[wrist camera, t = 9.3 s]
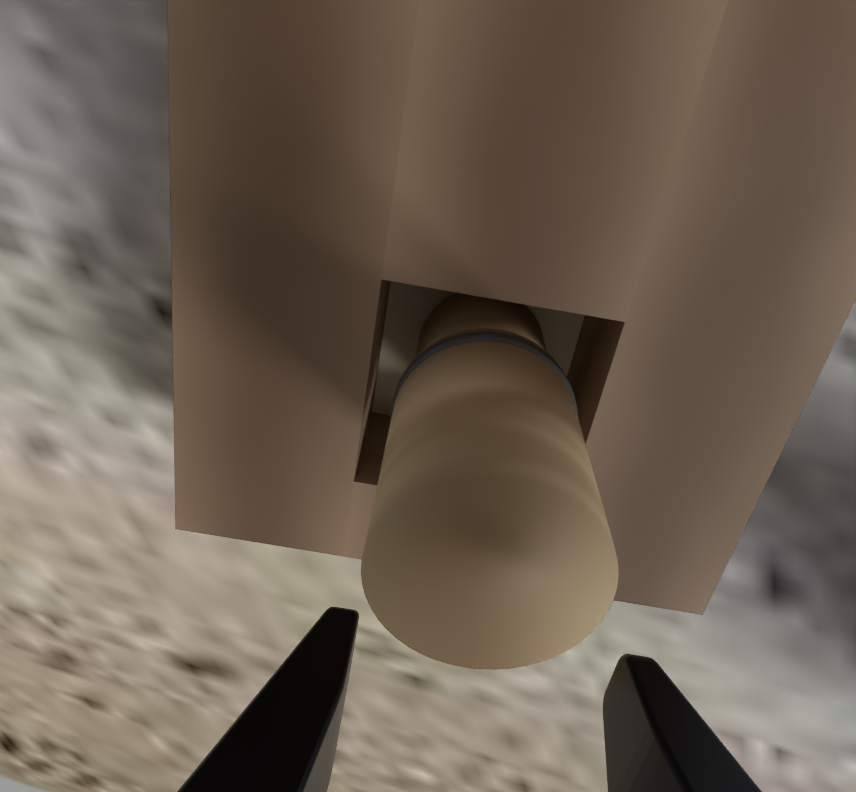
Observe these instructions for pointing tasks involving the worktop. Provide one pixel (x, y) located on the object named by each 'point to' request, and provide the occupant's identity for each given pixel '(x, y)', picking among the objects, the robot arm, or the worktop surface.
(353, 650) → the robot arm
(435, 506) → the oak peg
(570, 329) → the walnut socket block
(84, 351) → the worktop surface
